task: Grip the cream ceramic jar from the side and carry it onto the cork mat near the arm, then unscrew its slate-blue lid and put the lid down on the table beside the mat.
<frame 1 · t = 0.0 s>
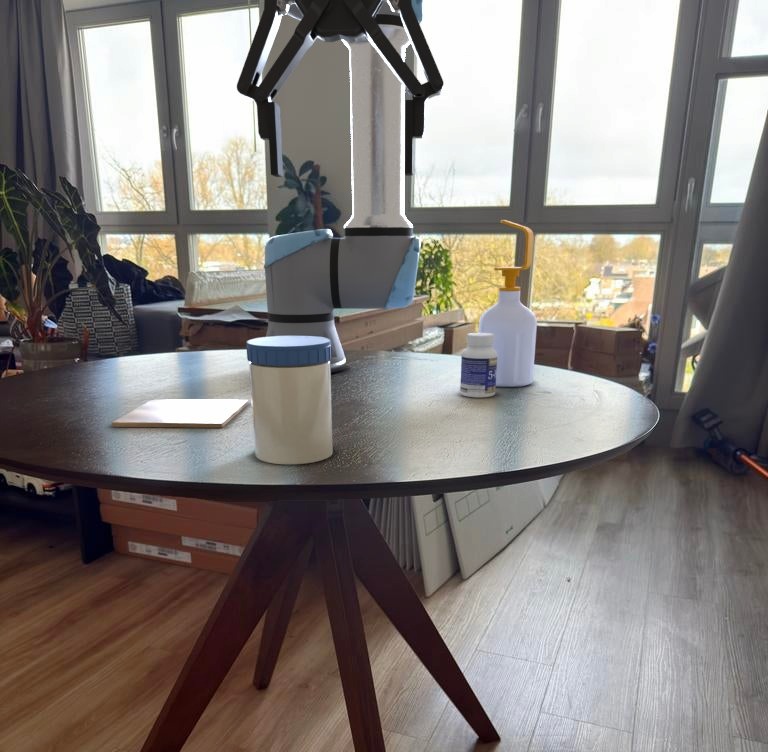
hand: (342, 175, 74), 28 cm above the table, tool pointing down, fingers open, 13 cm apart
jar: (294, 453, 79), on the table
soap bottle: (504, 383, 118), on the table
mat: (184, 414, 97), on the table
pill bottle: (477, 395, 108), on the table
lid: (289, 344, 75), point 12 cm above the table, screwed on, not yet turned
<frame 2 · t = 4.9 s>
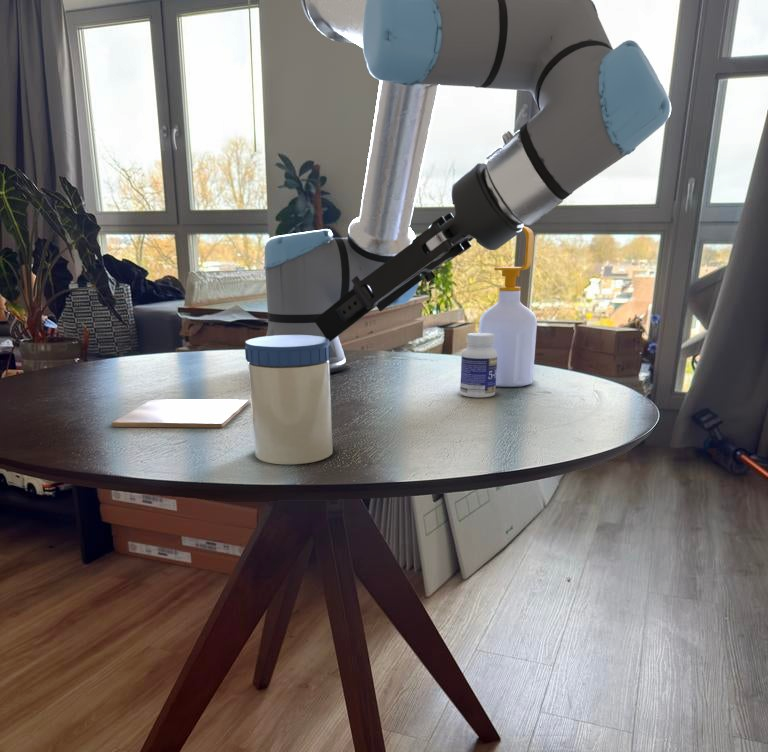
hand: (350, 315, 81), 14 cm above the table, tool tilted 55°, fingers open, 13 cm apart
lid: (287, 344, 75), point 12 cm above the table, turned 5° so far, risen 0.0 cm, still on its thread, touching gripper
everything else where it was.
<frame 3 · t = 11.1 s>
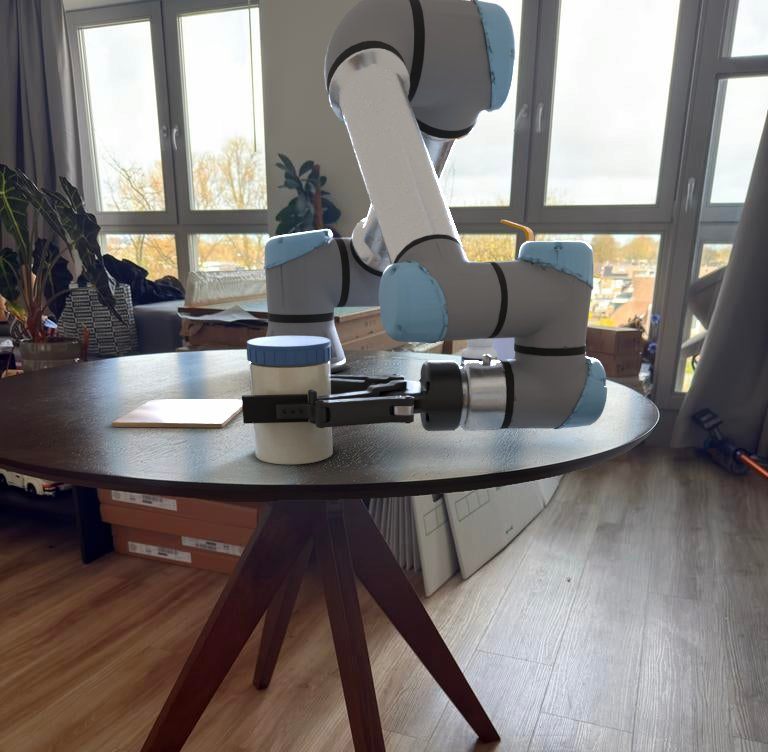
hand: (247, 400, 76), 6 cm above the table, tool horizontal, fingers closed on jar, 8 cm apart
jar: (294, 453, 79), on the table, touching gripper
lid: (289, 344, 75), point 12 cm above the table, turned -3° so far, risen 0.0 cm, still on its thread
everything else where it was.
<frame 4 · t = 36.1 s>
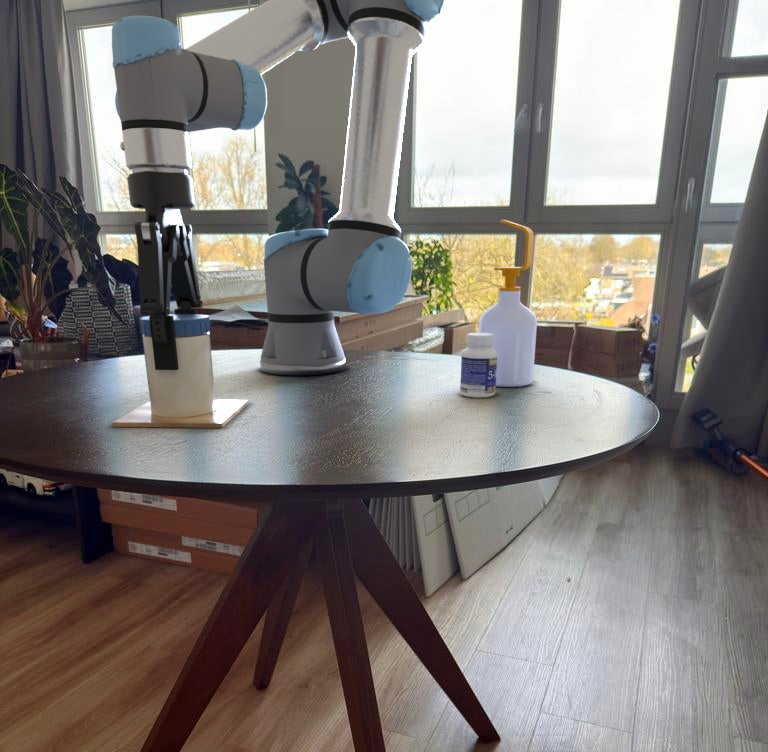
hand: (179, 363, 94), 7 cm above the table, tool pointing down, fingers closed on lid, 9 cm apart
jar: (184, 410, 96), point 1 cm above the table, touching mat
lid: (174, 320, 92), point 12 cm above the table, turned -3° so far, risen 0.0 cm, still on its thread, touching gripper
everything else where it was.
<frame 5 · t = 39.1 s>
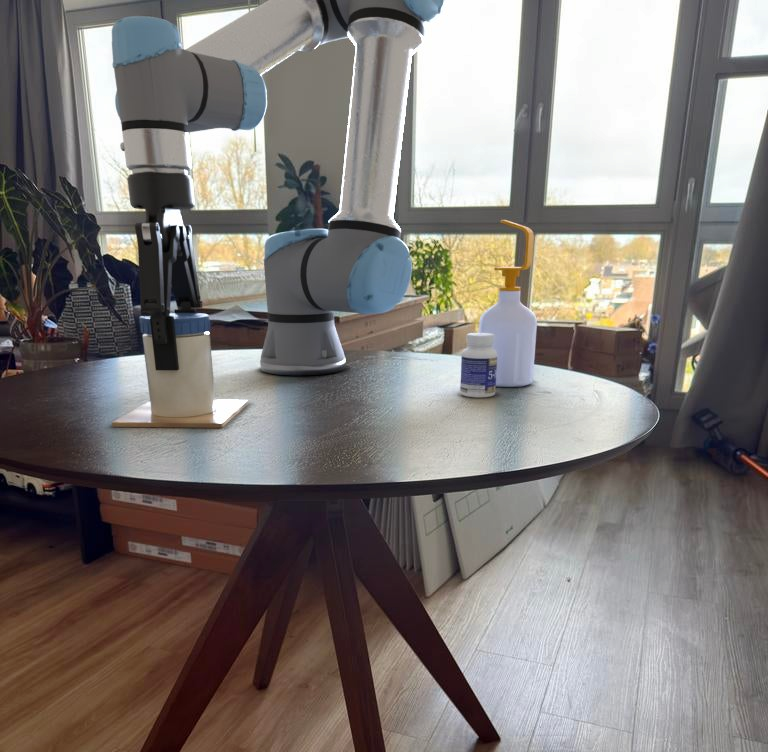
hand: (179, 363, 94), 7 cm above the table, tool pointing down, fingers closed on lid, 9 cm apart
lid: (174, 319, 92), point 12 cm above the table, turned 97° so far, risen 0.1 cm, still on its thread, touching gripper
everything else where it was.
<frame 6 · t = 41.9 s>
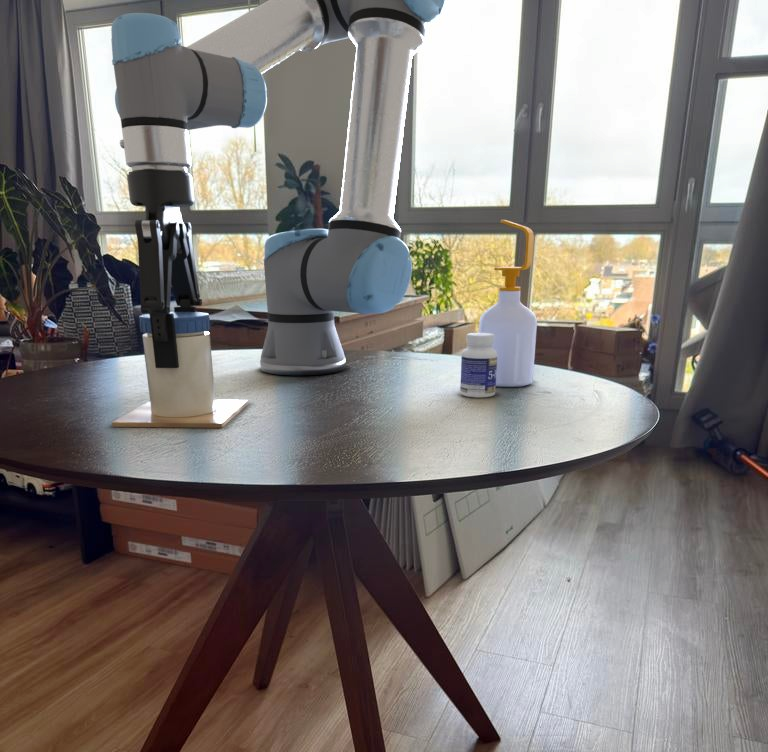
hand: (179, 361, 94), 7 cm above the table, tool pointing down, fingers closed on lid, 8 cm apart
lid: (174, 318, 92), point 13 cm above the table, turned 196° so far, risen 0.3 cm, still on its thread, touching gripper
everything else where it was.
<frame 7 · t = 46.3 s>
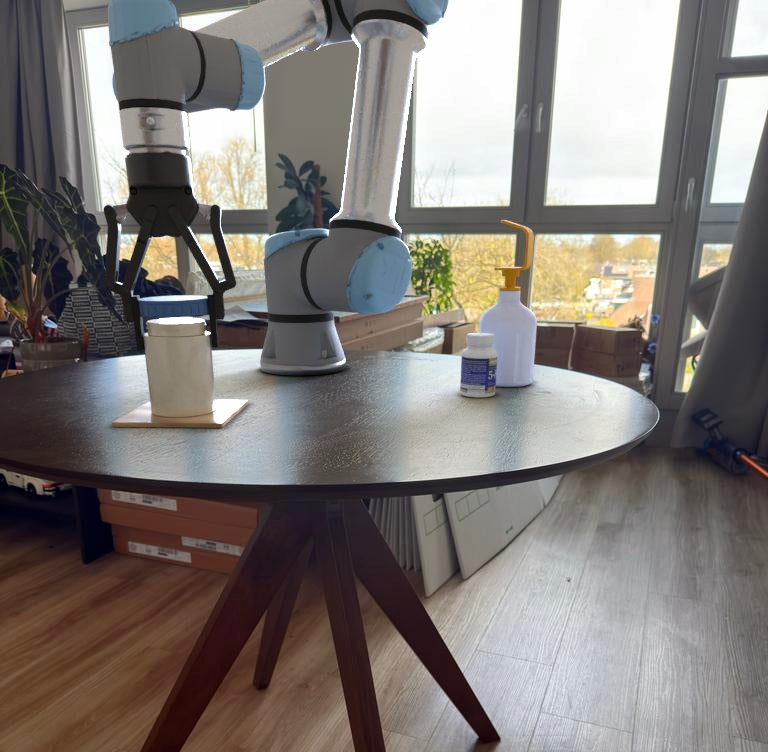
hand: (178, 347, 94), 9 cm above the table, tool pointing down, fingers closed on lid, 9 cm apart
jar: (184, 410, 96), point 1 cm above the table, touching gripper, mat
lid: (173, 301, 92), point 15 cm above the table, off its thread, touching gripper
everything else where it was.
when the fingers open (0 cm above the table, at t = 54.7 s): lid drops 4 cm, point 1 cm above the table.
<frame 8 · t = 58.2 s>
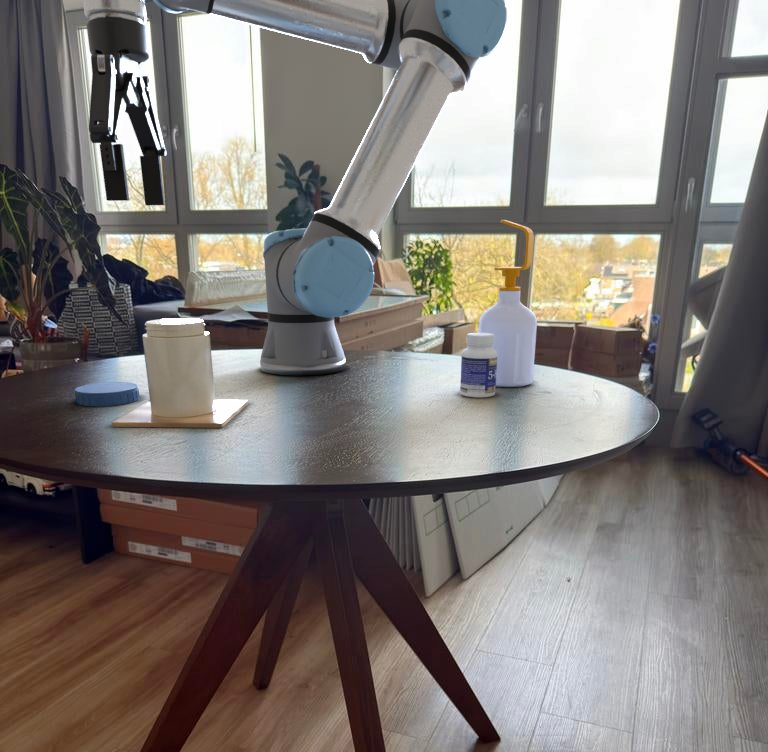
hand: (137, 203, 100), 27 cm above the table, tool pointing down, fingers open, 13 cm apart
jar: (184, 410, 96), point 1 cm above the table, touching mat
lid: (107, 390, 105), point 1 cm above the table, off its thread
everything else where it was.
at the end: jar inside the target area on the mat (0.1 cm from its centre), point 0.6 cm above the mat's base; lid came off its thread; lid inside the target area on the table beside the mat (0.2 cm from its centre), point 1.5 cm above the table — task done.
